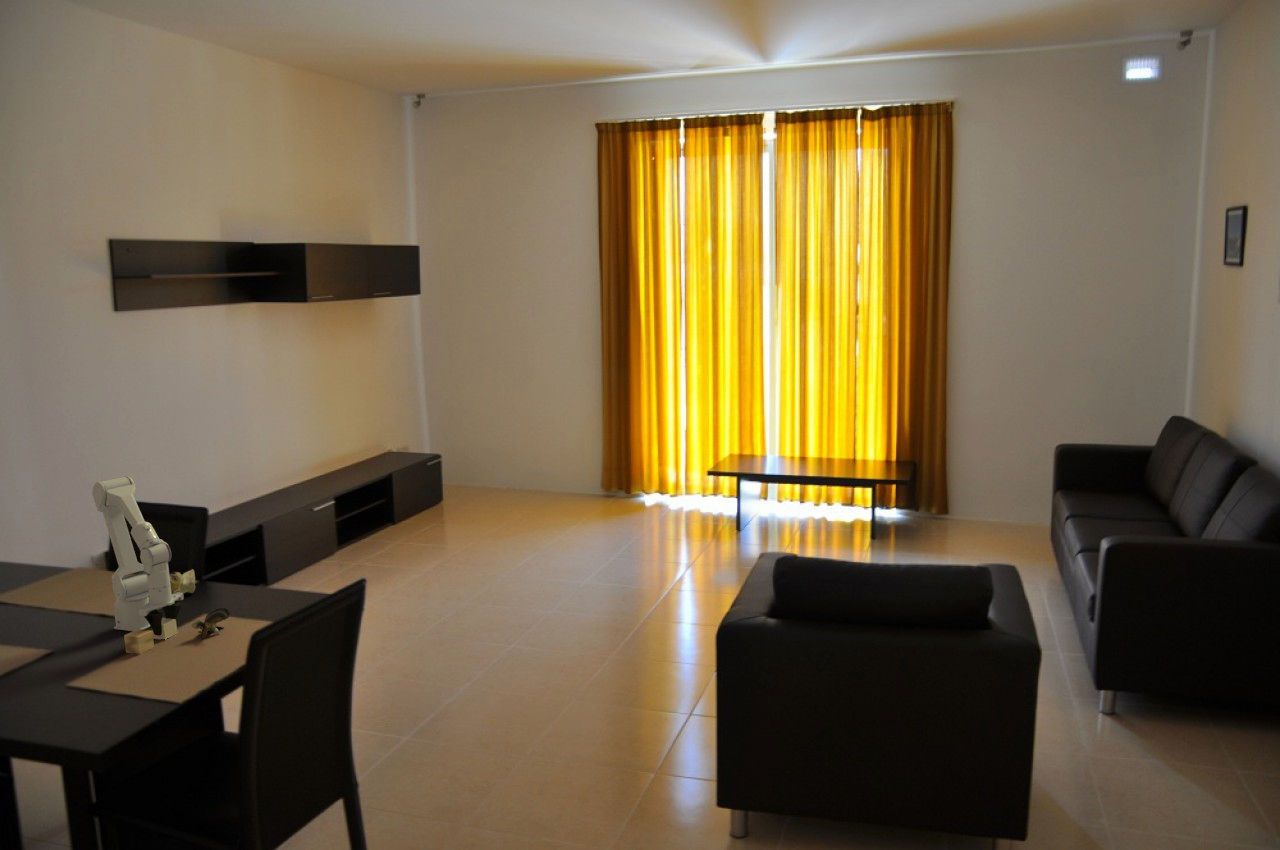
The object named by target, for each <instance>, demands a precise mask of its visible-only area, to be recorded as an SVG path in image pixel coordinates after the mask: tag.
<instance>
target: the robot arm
mask: <svg viewBox="0 0 1280 850" xmlns="http://www.w3.org/2000/svg"><path fill="white" fill-rule="evenodd" d="M136 490H137V488H136V484H135V481H134V479H133V478H131V476H129V475H125V476H123V477H117V478H112V479H108V480H104V481H96V482H95V483H94V484H93V487H92V491H91V493H92V497H93V501H94V503H95V507H96V510H97V512H100V513H102V514H103V517H104V518H103V519H104V521H105V525H106V528H107V531H108V535H109V537H110V541H111V545H112V547H113V551H114V555H115V557H116V558H115V559H116V562H117V565H118V567H117V569H116V570H115V572H114V573H113V574H112V575H111V583H112V592H113V594H114V596H115V597H116V600H115V602H114V604H113V613H114V620H115V626H114V627H113V629H114V630H119V631H127V632H133V631H135V630H137V629H142V630H147V629H148V628H151V631H152V630H153V633H154V635H158V636H160V635H161V634H162V626H161V621H162V618H163V614H164V618H168V619H176V621H177V618H178V615H179V612H180V611H181V608H182V602H178V601H182V600H184V599H185V598H184V597H185V596H184V594H183V593H180V592H177V593H175V594H171V585H170V570H169V569H170V568H169V562H170V561H171V560H172V551H171V547H170V546H169V544H168V543H167V542H166V541H164V540H163V539H160V538H159V536H158V534H157V532H156V530H155V528H154V527H153V525H152V524H151V523H150V522H148V521H146V520H145V519H144V517H143V514H142V512H141V510H140V507H139V506H138V503H137V501H136V494H137V492H136ZM126 521H127V522H128V523H129V525H130V527H132V528H131V531H130V532H129V528H128V526H127V522H126ZM130 534H131V536H132V537H131V536H130ZM131 539H133V540H134V542H135V543H136V545H137V548H138V549H139V551H140V556H139V557H140V562H141V563H140V562H139V561H138V559H137V556H136V553H135V552H136V551H135V549H134V546H133V542H132V540H131ZM160 609H162V610H163V612H160V611H158V610H160Z"/></svg>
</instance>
